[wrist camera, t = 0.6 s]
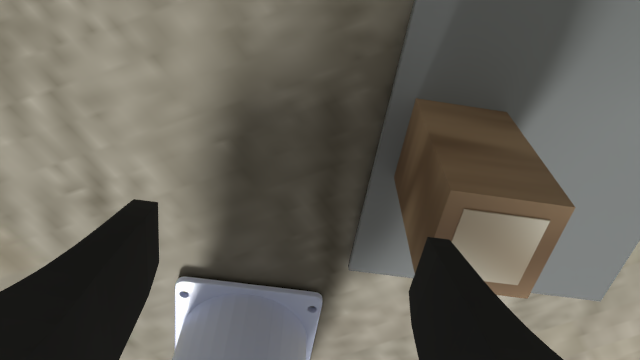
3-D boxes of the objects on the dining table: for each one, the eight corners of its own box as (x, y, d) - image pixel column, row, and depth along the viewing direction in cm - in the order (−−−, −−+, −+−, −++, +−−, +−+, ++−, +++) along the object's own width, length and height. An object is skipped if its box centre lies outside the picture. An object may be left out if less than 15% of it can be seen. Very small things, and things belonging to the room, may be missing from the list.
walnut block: (477, 189, 24) (527, 299, 18) (393, 177, 23) (417, 286, 17) (506, 111, 22) (576, 208, 16) (415, 98, 21) (451, 191, 15)
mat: (597, 296, 28) (600, 301, 28) (348, 265, 27) (348, 270, 26) (782, 0, 19) (791, 3, 19) (429, -62, 18) (431, -61, 18)
